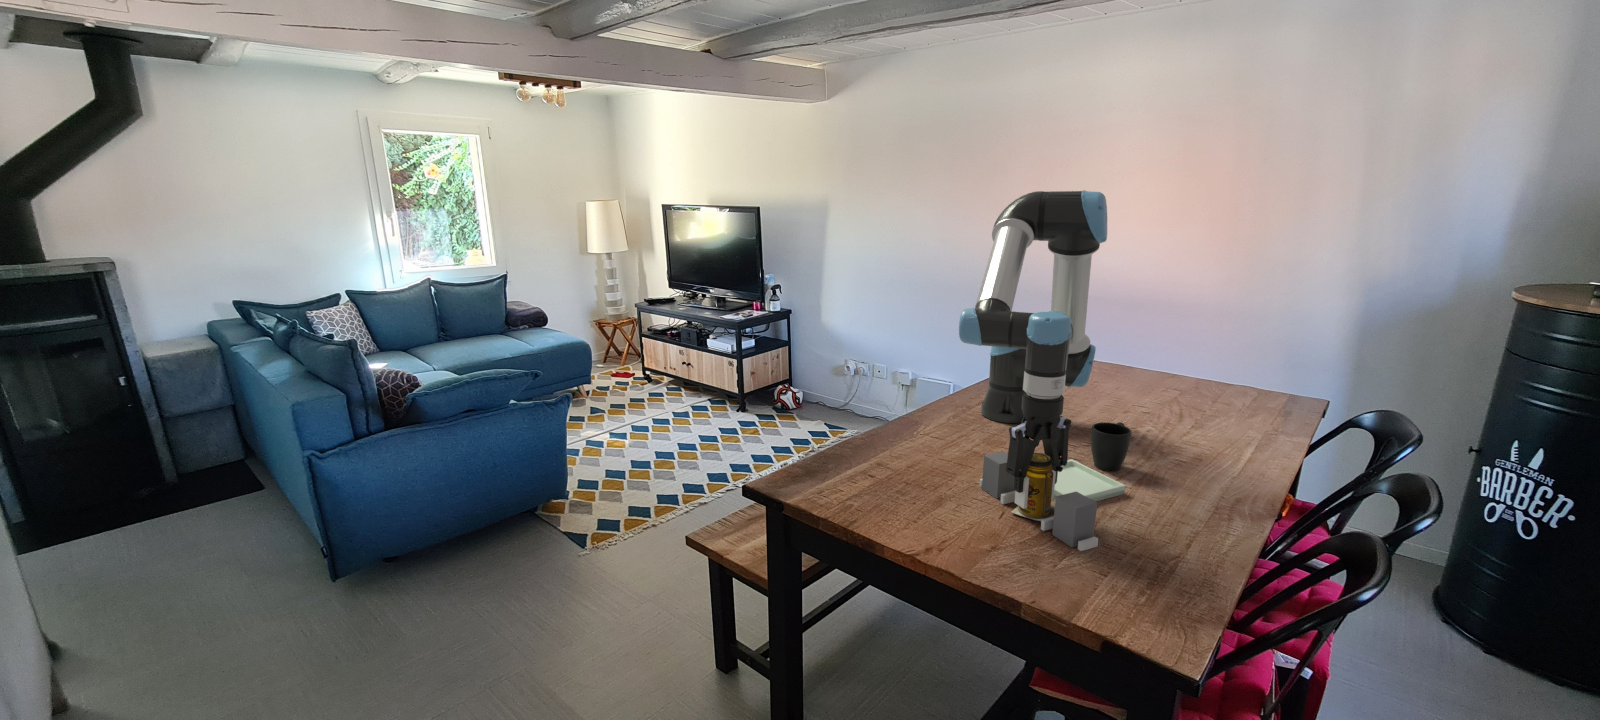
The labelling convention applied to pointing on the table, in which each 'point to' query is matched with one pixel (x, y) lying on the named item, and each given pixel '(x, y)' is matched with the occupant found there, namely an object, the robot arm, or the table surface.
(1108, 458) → the mug
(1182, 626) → the table surface
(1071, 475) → the tray
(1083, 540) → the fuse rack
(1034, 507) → the condiment
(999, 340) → the robot arm
